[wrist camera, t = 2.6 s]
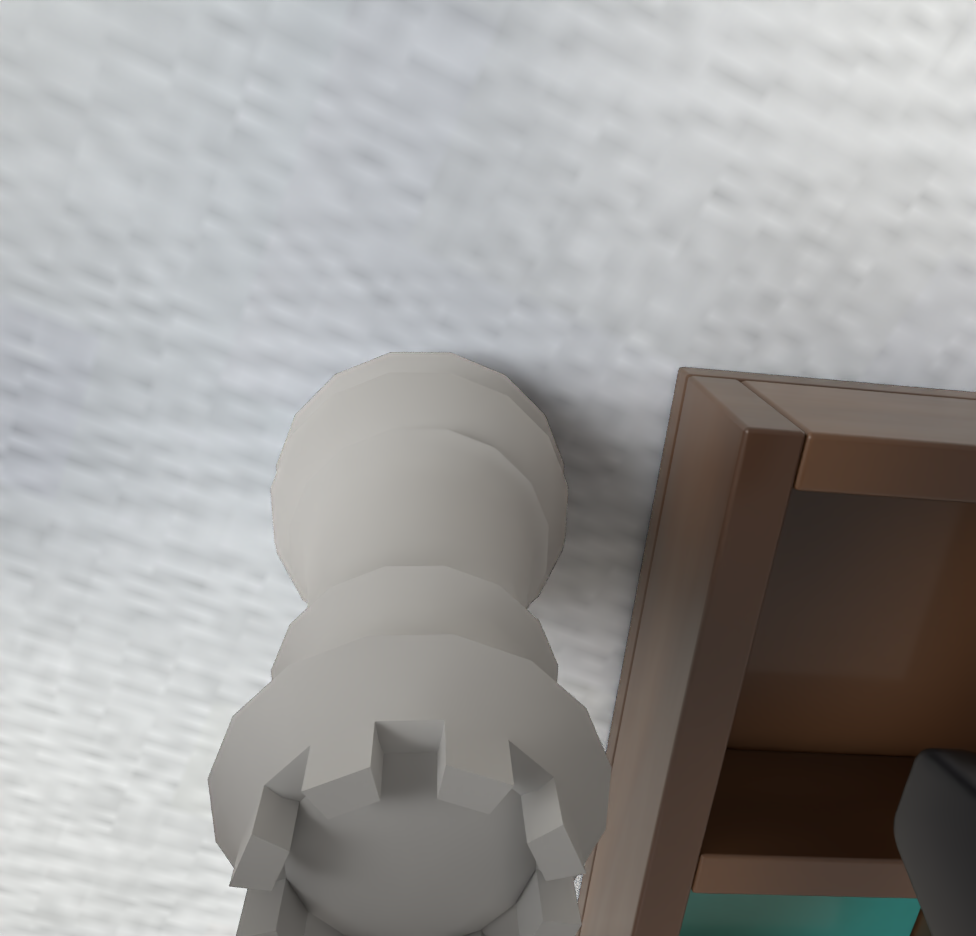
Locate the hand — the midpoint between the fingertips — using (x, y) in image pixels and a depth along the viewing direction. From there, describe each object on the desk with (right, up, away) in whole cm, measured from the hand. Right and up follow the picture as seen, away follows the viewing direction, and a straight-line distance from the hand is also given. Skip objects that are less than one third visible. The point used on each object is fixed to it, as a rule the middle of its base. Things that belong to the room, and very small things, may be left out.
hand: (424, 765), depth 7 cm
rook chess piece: (0, +2, +6) cm, 7 cm away
